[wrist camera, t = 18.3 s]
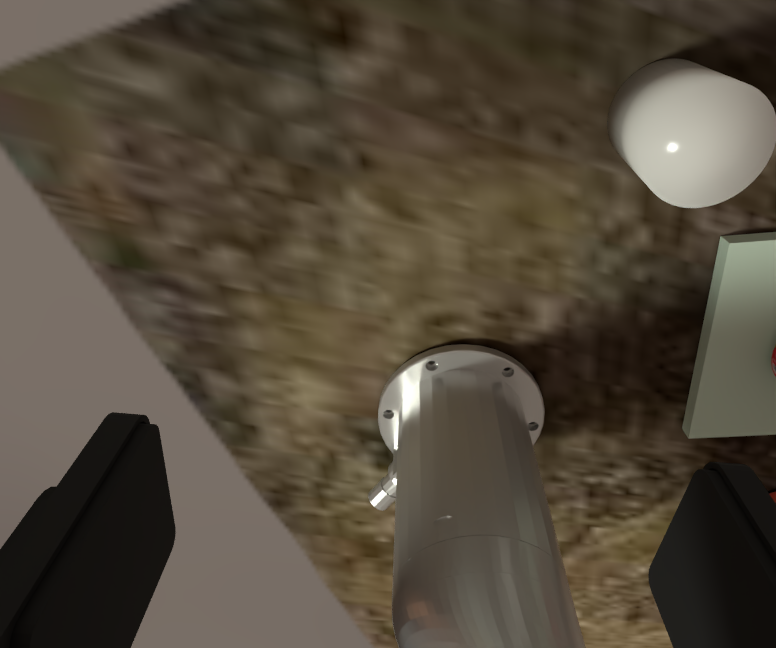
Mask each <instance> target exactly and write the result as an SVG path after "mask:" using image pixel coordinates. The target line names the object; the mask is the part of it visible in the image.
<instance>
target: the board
mask: <svg viewBox="0 0 776 648" xmlns="http://www.w3.org/2000/svg"><path fill="white" fill-rule="evenodd" d="M775 346H776V232H768V233H755V234H742V235H729V236H721V237H720V242H719V247H718V252H717V257H716V262H715V267H714V272H713V277H712V282H711V287H710V292H709V297H708V302H707V307H706V312H705V316H704V321H703V326H702V331H701V336H700V341H699V346H698V351H697V356H696V361H695V366H694V371H693V376H692V381H691V386H690V391H689V396H688V401H687V406H686V411H685V416H684V421H683V426H682V429H683V431H684V432H685V434H686V436H687V437H688V439H693V438H713V437H734V436H754V435H775V434H776V376H775V375H774V373H773V370H772V366H771V358H772V354H773V350H774V348H775Z"/></svg>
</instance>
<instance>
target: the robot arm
mask: <svg viewBox="0 0 776 648" xmlns="http://www.w3.org/2000/svg"><path fill="white" fill-rule="evenodd" d="M544 415H545V409H544V403H543V398H542V395H541V392H540V389H539V386H538V384H537V382H536V381H535V379H534V377H533V376H532V374H531V373H530V372H529V371H528V370H527V369H526V368H525V367H524V366H523V364H521V363H520V362H518V361H517V360H515V359H514V358H513V357H511V356H509V355H507V354H505V353H503V352H501V351H498V350H496V349H492V348H488V347H484V346H480V345H468V344H458V345H446V346H442V347H438V348H434V349H430V350H428V351H426V352H423V353H421V354H419V355H416V356H415V357H413V358H411V359H410V360H408V361H407V362H405V363H404V364H403V365H402V366H400V367H399V368H398V369H397V370H396V371H395V372H394V373H393V374H392V376H391V377H390V379H389V380H388V381H387V383H386V384H385V386H384V389H383V391H382V394H381V396H380V402H379V409H378V424H379V428H380V433H381V435H382V437H383V439H384V441H385V444H386V445H387V447H388V448H389V449H390V450H391V452H392V453H393V454H394V457H393V462H392V463H391V464H390V465H389V468H388V474H387V475H386V476H385V477H384V478H382V479H381V481H380V482H379V483H378V484H377V485H376V486H375V487H374V488H373V489H372V490H371V491H370V492H369V496H368V497H369V500H370V502H371V504H372V505H373V506H374V507H375V508H377V509H378V510H383V511H384V510H386V509H387V508H388V507H389V506H390V505H391V504H392V503H393V502H394V501H395V500H396V505H395V535H394V565H393V589H392V620H393V627H394V632H395V637H396V640H397V643H398V646H399V648H586V647H585V644H584V640H583V636H582V633H581V629H580V626H579V622H578V619H577V615H576V611H575V607H574V603H573V600H572V596H571V592H570V588H569V584H568V580H567V576H566V572H565V568H564V564H563V560H562V557H561V553H560V549H559V545H558V541H557V537H556V533H555V529H554V525H553V522H552V518H551V514H550V510H549V506H548V502H547V498H546V494H545V491H544V487H543V483H542V479H541V475H540V471H539V467H538V463H537V459H536V456H535V452H534V448H533V446H534V444H535V442H536V441H537V439H538V437H539V436H540V433H541V430H542V427H543V424H544ZM174 540H175V523H174V517H173V511H172V505H171V499H170V493H169V487H168V481H167V475H166V468H165V462H164V457H163V451H162V445H161V439H160V432H159V428H158V426H157V425H155V424H150V422H149V419H148V417H147V416H146V415H138V414H125V413H110V414H108V415H107V416H106V418H105V419H104V420H103V422H102V423H101V424H100V426H99V427H98V429H97V430H96V432H95V433H94V434H93V436H92V437H91V439H90V440H89V442H88V443H87V444H86V446H85V447H84V449H83V450H82V451H81V453H80V454H79V456H78V457H77V459H76V460H75V462H74V463H73V464H72V466H71V467H70V469H69V470H68V471H67V473H66V474H65V476H64V477H63V478H62V480H61V481H60V483H59V484H58V485H57V487H50V488H48V489H47V490H45V491H44V492H43V493H42V494H41V495H40V496H39V497H38V498H37V500H36V501H35V502H34V504H33V505H32V507H31V508H30V509H29V511H28V512H27V513H26V515H25V516H24V518H23V519H22V520H21V522H20V523H19V525H18V526H17V527H16V529H15V530H14V532H13V533H12V534H11V536H10V537H9V538H8V540H7V541H6V542H5V544H4V545H3V546H2V548H1V549H0V648H131V645H132V643H133V641H134V638H135V636H136V633H137V631H138V629H139V626H140V624H141V622H142V619H143V617H144V615H145V612H146V610H147V608H148V605H149V603H150V601H151V598H152V596H153V593H154V591H155V588H156V586H157V584H158V581H159V579H160V577H161V574H162V572H163V570H164V567H165V565H166V563H167V560H168V558H169V556H170V553H171V551H172V548H173V545H174ZM649 584H650V588H651V591H652V594H653V596H654V599H655V601H656V604H657V607H658V609H659V612H660V614H661V617H662V619H663V622H664V624H665V627H666V630H667V632H668V635H669V637H670V640H671V642H672V645H673V648H776V503H775V501H774V500H773V499H772V497H771V496H770V494H769V493H768V491H767V490H766V489H765V487H764V486H763V484H762V483H761V481H760V480H759V478H758V477H757V476H756V474H755V473H754V471H753V470H752V469H751V468H750V467H749V466H747V465H745V464H733V463H721V462H709V463H708V464H706V465H705V467H704V468H703V469H699V470H697V471H696V472H695V473H694V475H693V477H692V479H691V481H690V483H689V485H688V487H687V490H686V492H685V494H684V496H683V498H682V500H681V502H680V504H679V506H678V509H677V511H676V513H675V515H674V517H673V519H672V521H671V523H670V525H669V528H668V530H667V532H666V534H665V536H664V538H663V540H662V542H661V545H660V547H659V549H658V551H657V553H656V555H655V557H654V559H653V561H652V564H651V566H650V569H649Z"/></svg>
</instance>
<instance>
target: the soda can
mask: <svg viewBox="0 0 776 648" xmlns="http://www.w3.org/2000/svg"><path fill="white" fill-rule="evenodd" d="M771 366H772V370H773V373H774V375H775V376H776V346H775V348H774V350H773V354H772V358H771Z"/></svg>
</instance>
